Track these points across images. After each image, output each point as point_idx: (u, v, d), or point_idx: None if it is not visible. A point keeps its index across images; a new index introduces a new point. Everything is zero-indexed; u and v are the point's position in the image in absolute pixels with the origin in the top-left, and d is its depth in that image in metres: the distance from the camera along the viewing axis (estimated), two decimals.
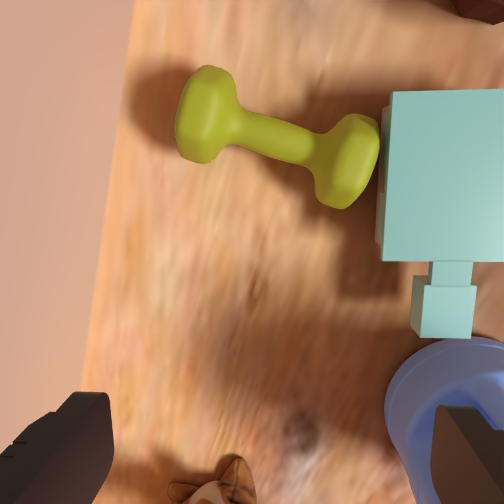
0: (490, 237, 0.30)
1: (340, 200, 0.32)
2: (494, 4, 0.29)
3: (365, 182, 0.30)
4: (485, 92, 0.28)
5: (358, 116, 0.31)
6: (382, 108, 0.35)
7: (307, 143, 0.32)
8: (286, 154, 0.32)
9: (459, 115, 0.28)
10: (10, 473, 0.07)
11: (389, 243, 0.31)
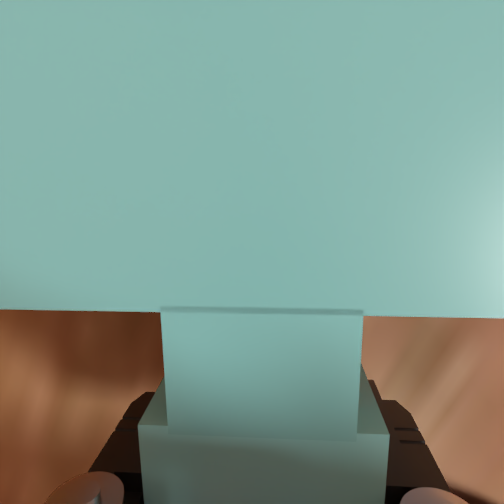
0: (454, 183, 0.05)
1: None
2: None
3: None
4: None
5: None
6: None
7: None
8: None
9: None
10: None
11: None
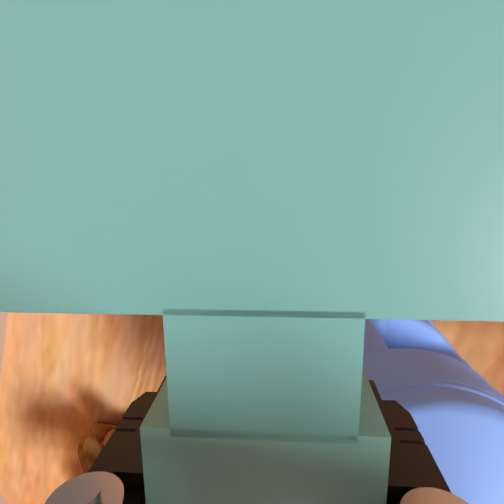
0: (456, 187, 0.05)
1: None
2: None
3: None
4: None
5: None
6: None
7: None
8: None
9: None
10: (140, 441, 0.08)
11: None
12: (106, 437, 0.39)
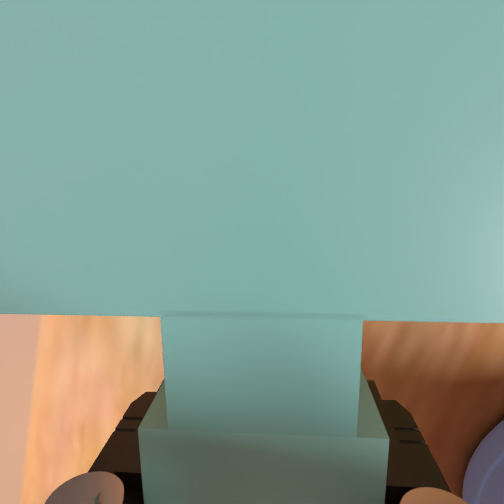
0: (455, 188, 0.05)
1: None
2: None
3: None
4: None
5: None
6: None
7: None
8: None
9: None
10: None
11: None
12: None
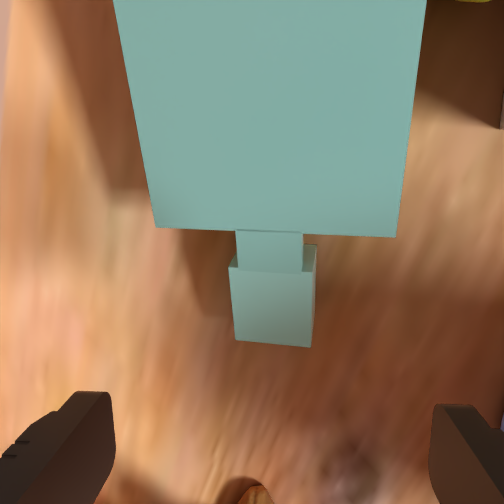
0: (328, 193, 0.16)
1: None
2: None
3: None
4: None
5: None
6: None
7: None
8: None
9: None
10: (13, 472, 0.07)
11: (159, 199, 0.18)
12: None
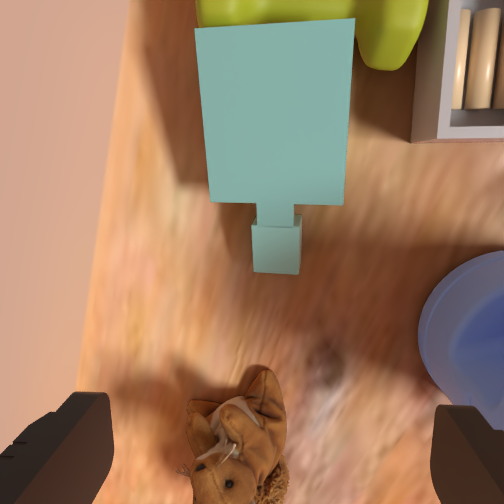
0: (307, 181, 0.30)
1: (395, 51, 0.28)
2: None
3: (423, 15, 0.26)
4: (287, 25, 0.26)
5: None
6: None
7: None
8: (323, 15, 0.28)
9: (263, 53, 0.27)
10: (10, 473, 0.07)
11: (214, 185, 0.32)
12: (222, 412, 0.34)
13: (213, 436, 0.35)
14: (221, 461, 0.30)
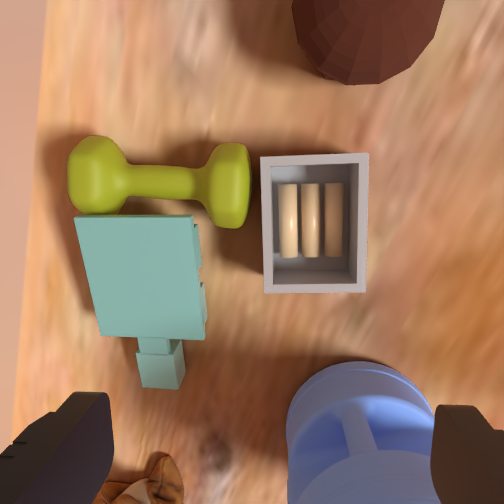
0: (173, 322, 0.38)
1: (228, 221, 0.35)
2: None
3: (240, 201, 0.33)
4: (142, 219, 0.34)
5: (224, 145, 0.35)
6: None
7: (187, 180, 0.35)
8: (173, 193, 0.36)
9: (127, 236, 0.35)
10: (10, 473, 0.07)
11: (102, 323, 0.39)
12: (115, 503, 0.41)
13: None
14: None
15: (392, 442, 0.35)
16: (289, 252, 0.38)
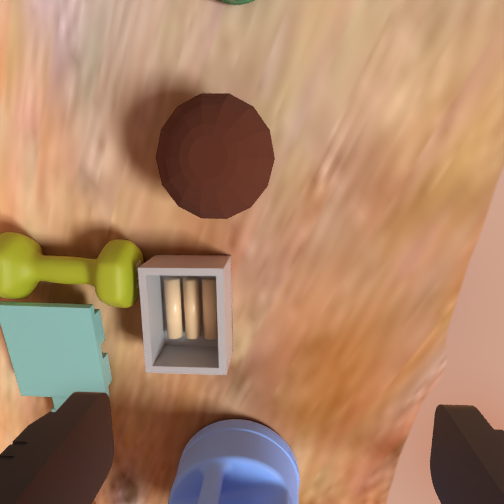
0: (81, 386, 0.47)
1: (117, 305, 0.43)
2: None
3: (122, 293, 0.41)
4: (51, 308, 0.43)
5: (112, 244, 0.42)
6: (155, 255, 0.47)
7: (83, 271, 0.43)
8: (72, 281, 0.43)
9: (39, 320, 0.43)
10: (10, 473, 0.07)
11: (22, 386, 0.47)
12: None
13: None
14: None
15: (247, 494, 0.44)
16: (173, 334, 0.46)
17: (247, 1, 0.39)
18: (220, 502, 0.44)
